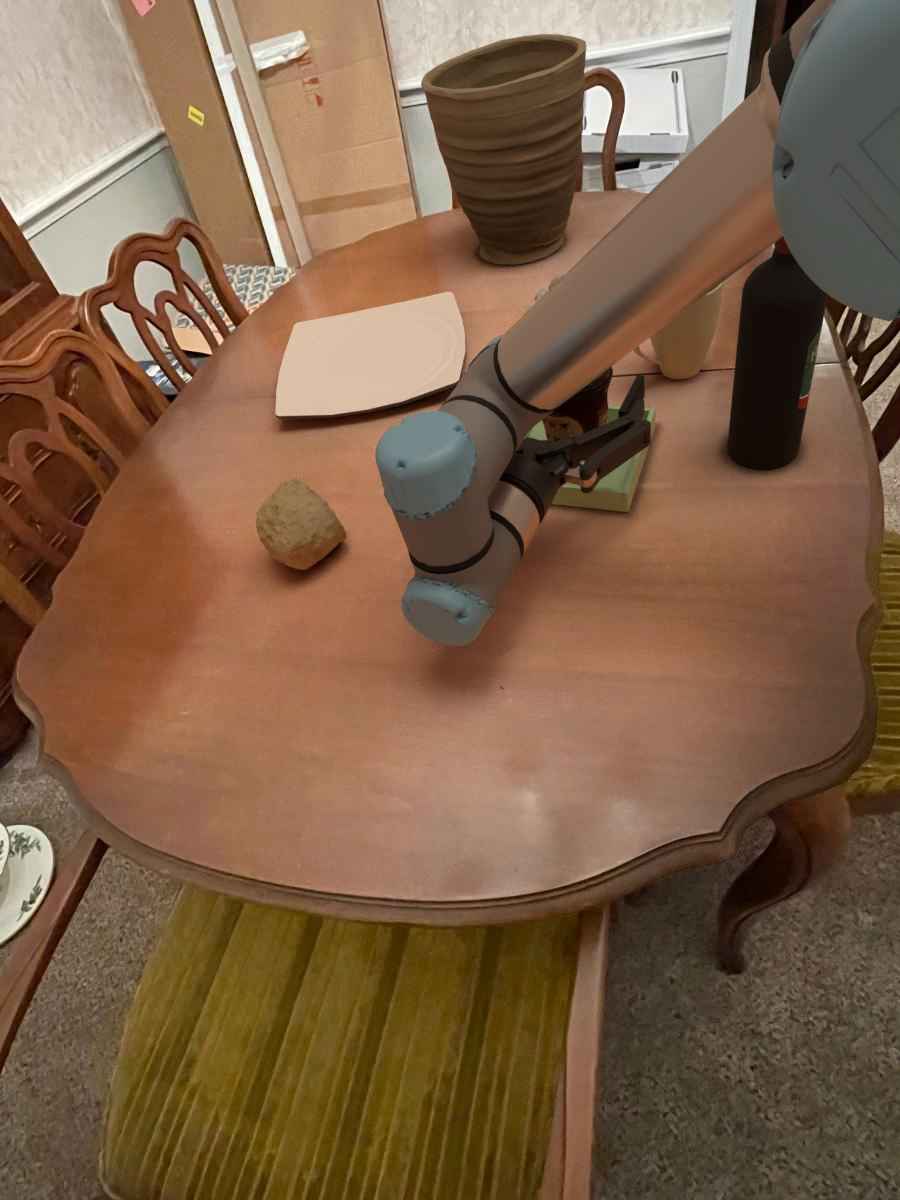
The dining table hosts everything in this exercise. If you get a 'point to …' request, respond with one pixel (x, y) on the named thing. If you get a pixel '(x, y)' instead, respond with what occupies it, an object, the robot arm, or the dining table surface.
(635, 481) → the tray
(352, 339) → the plate
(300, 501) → the tan rock
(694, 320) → the mug
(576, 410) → the coffee cup
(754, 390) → the wine bottle
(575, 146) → the vase
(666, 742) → the dining table surface
